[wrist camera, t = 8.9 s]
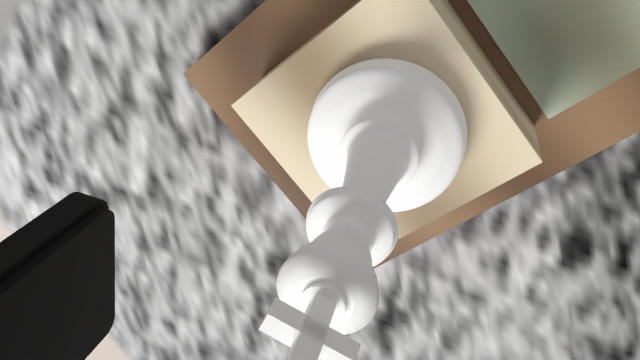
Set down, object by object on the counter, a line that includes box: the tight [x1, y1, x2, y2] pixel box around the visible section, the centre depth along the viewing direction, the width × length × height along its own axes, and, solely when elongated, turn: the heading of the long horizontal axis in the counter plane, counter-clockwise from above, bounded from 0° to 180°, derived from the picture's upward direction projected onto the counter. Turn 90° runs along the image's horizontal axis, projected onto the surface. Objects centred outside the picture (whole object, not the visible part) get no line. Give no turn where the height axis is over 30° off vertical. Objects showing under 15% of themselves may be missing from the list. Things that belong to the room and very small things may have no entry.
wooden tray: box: [183, 0, 640, 268], centre depth 18 cm, size 18×11×4 cm, turn 130°
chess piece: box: [259, 58, 468, 360], centre depth 13 cm, size 5×5×10 cm
